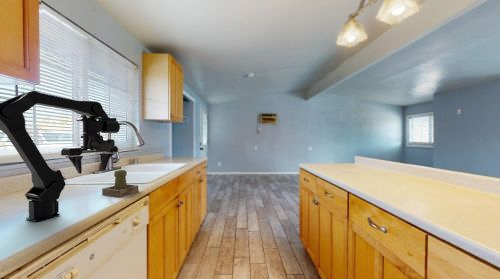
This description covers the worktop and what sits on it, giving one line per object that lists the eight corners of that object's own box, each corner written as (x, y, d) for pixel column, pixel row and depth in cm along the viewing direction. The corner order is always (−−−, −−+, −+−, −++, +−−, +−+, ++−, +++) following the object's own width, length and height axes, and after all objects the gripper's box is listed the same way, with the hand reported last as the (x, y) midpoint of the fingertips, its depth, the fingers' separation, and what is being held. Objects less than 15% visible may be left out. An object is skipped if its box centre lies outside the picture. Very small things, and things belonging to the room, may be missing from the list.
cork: (130, 192, 106) (130, 169, 106) (119, 195, 100) (119, 171, 100) (121, 190, 108) (121, 168, 108) (110, 194, 102) (109, 170, 102)
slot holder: (118, 197, 97) (118, 190, 97) (102, 194, 101) (102, 188, 101) (138, 191, 107) (138, 185, 107) (123, 189, 111) (123, 183, 111)
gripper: (79, 132, 76) (80, 177, 76) (127, 133, 93) (127, 169, 94) (59, 132, 80) (60, 175, 81) (109, 133, 98) (109, 168, 98)
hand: (92, 171), depth 88 cm, fingers open, 9 cm apart
